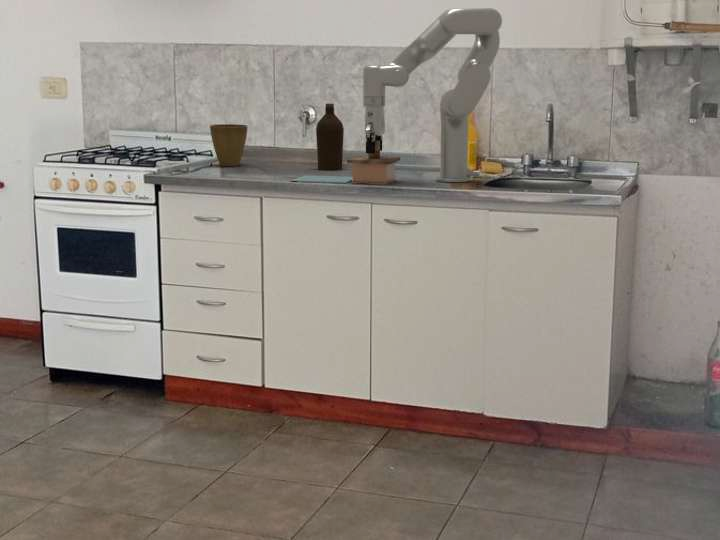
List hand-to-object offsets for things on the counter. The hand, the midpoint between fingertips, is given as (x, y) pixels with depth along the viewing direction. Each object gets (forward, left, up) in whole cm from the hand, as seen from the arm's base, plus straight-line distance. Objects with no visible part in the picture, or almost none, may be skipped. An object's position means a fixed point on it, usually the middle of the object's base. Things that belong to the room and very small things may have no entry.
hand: (374, 152), depth 363 cm
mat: (+18, -1, -10) cm, 21 cm away
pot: (0, 0, -10) cm, 10 cm away
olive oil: (+27, -36, -10) cm, 46 cm away
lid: (0, 0, -3) cm, 3 cm away
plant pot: (+69, -37, -10) cm, 79 cm away
